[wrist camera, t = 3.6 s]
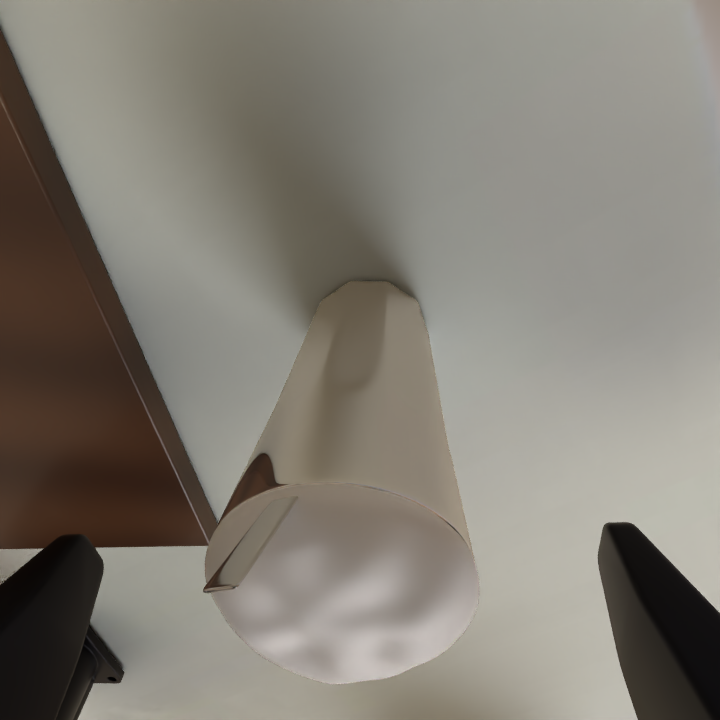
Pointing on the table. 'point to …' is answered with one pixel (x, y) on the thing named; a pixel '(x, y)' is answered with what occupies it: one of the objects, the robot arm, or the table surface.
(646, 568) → the robot arm
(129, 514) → the walnut board
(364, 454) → the milkshake
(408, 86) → the table surface
